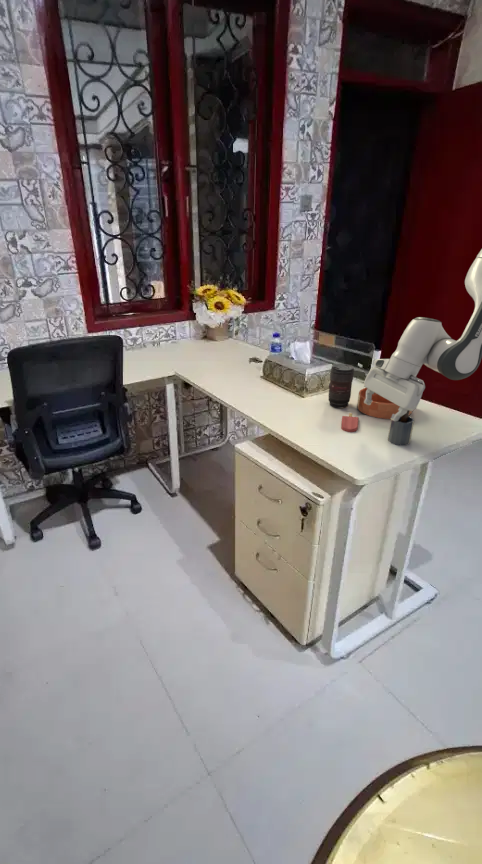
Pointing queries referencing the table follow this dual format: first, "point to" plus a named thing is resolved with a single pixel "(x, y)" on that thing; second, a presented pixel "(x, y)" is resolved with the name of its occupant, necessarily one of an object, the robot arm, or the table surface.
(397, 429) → the cup
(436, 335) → the robot arm
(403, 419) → the stick
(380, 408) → the bowl
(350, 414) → the popsicle
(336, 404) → the camera lens
